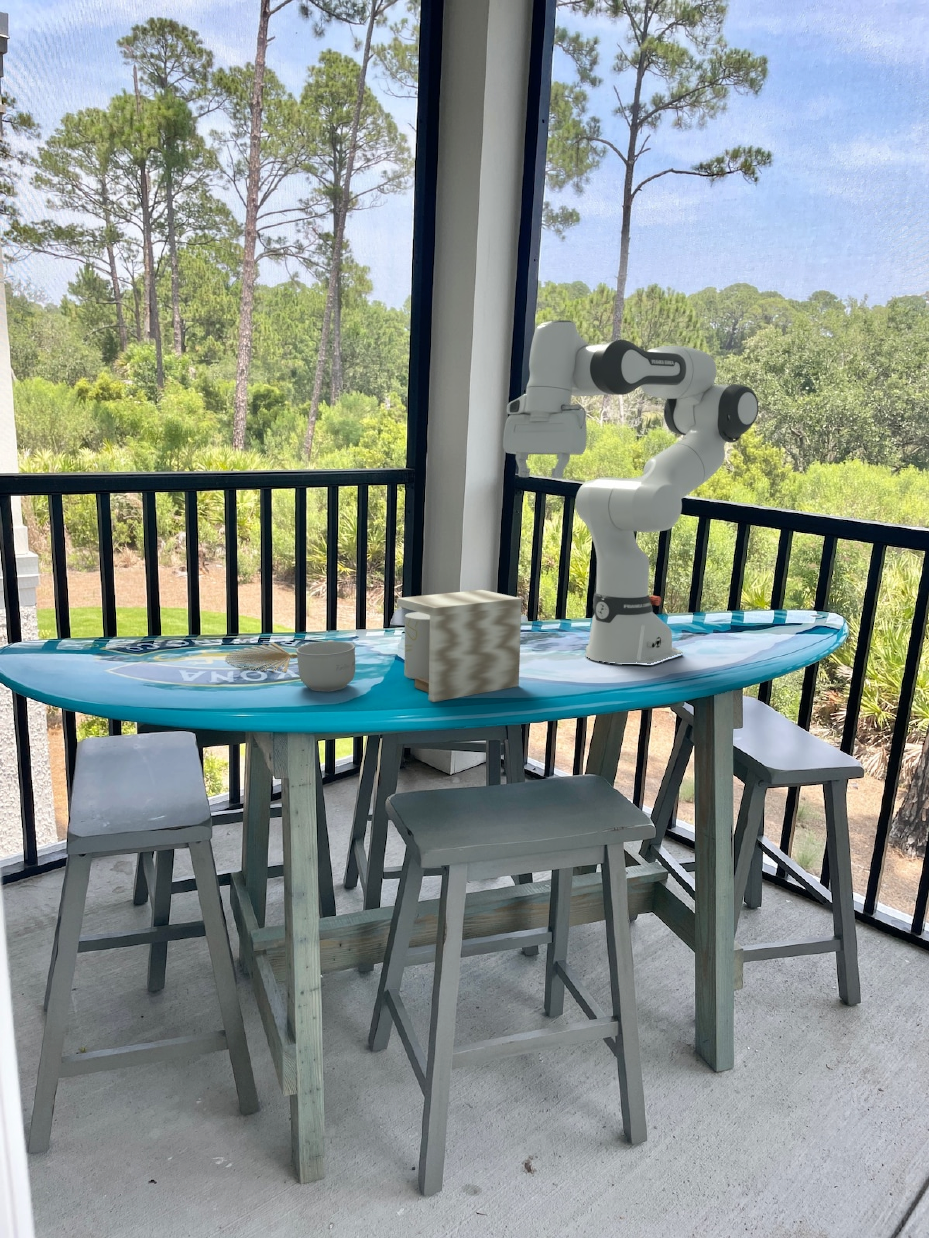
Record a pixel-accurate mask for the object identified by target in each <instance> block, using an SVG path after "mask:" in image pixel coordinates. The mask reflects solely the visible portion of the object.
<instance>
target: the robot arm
mask: <svg viewBox="0 0 929 1238" xmlns="http://www.w3.org/2000/svg"><path fill="white" fill-rule="evenodd" d="M531 341H532V342H531V346H530V353H529V361H528V362H529V363H528V370H529V378H528V379H529V380H528V382H527V384H526V390H525V391H526V392H525V393H524V394H522V395H521V396H519V397H518V398H516V399H514V400H512V401H510V402H509V403H508V404H507V405H506V414H507V415H508V417H507V418H506V420H505V423H504V430H503V441H502V447H503V450H504V452H505V453H507V454H511V455H512V454H513V455H515V461H516V464H517V466H518V473H517V475H518V477H519V478H529V477H530V473H531V468H528V464H527V461H528V460H529V455H555V456H556V460H557V462H556V464H555V467H554V468H553V467H552V468H551V474H550V477H551V478H552V479H561V480H562V478H564V470H565V469H566V467H567V465H568V463H569V462H570V459H571V456H573V455H574V456H575V455H576V456H582V455H583V454H584V452H585V451H586V450H587V438H588V437H587V432H588V429H587V420H586V417H587V411H586V410H585V407H583V406H582V405H581V404H578V403H577V404H571V403H572V396H574V397H592V396H606V395H613V396H614V395H615V396H616V395H618V396H623V395H628V394H630V393H632V392H634V391H636V389H638V388H640V389H641V390H642V392H643V393H644V394H646V395H647V396H650V397H652V398H658V399H666V400H665V403H664V408H663V419H664V423H665V424H666V426H667V428H668V429H669V430H670V432H673V433H674V434H677V435H679V436H683V438H681V440H679V441H677V442H675V443H673V444H672V445H670V446H669V447H667V448H665V449H663V450H662V451H660V452H658V453H657V454H655V455H654V456H653V457H651V458H649V459H648V460H647V461H646V463H645V465H644V466H643V470H642V475H640V476H636V477H627V478H626V477H612V476H611V477H610V476H604V477H603V476H602V477H598V478H594V479H590V480H587V481H585V482H583V484H582V485H580V487H579V489H578V491H577V492H576V496H575V509H576V513H577V515H578V517H579V518H580V520H582V522H583V523H584V524H585V526H586V527H587V529H588V530H589V534H590V536H591V539H592V542H593V545H594V549H595V555H596V588H595V590H596V591H595V592H594V594H593V599H592V601H593V604H592V609H593V610H594V614H593V616H592V619H591V625H590V631H589V638H588V644H587V645H586V646H585V651H586V650H587V651H586V652H585V655H586V656H585V657H586V658H587V657H588V658H587V659H589V658H590V659H589V660H592V661H596V662H599V661H605V662H615V663H636V662H637V663H647V664H651V663H654V662H657V661H661V660H663V659H666V658H668V657H672V656H674V655H677V654H681V653H682V654H683V651H682V650H680V649H678V648H675V647H673V633H672V630H671V628H670V627H669V626H668V625H667V624H666V623H665V622H664V621H663V620H662V619H661V618H660V617H658V616H657V615H656V614H655V613H654V612H653V610H654V608H653V605H654V606H660V605H661V602H662V598H661V597H660V596H657V595H653V594H652V595H651V596H650V595H649V579H650V566H651V565H650V560H649V556H648V555H647V554H646V553H645V552H644V551H643V550H642V549H641V548H640V546H639V545H638V542H637V539H636V536H635V533H634V532H638V533H645V534H647V533H649V534H650V533H657V532H662V531H668V530H670V529H672V528H673V527H674V526H676V523H677V522H678V520H679V518H680V517H681V514H682V509H683V502H682V499H684V498H685V497H686V496H688V495H689V494H690V493H693V491H695V490H696V489H698V488H699V487H701V486H702V485H703V484H704V483H706V482H707V481H708V480H709V479H710V478H712V477H713V476H714V474H715V473H717V471H718V470H719V469H720V468H721V467H722V465H723V463H724V461H725V456H726V453H725V452H726V451H725V444H726V443H729V444H733V443H734V444H735V443H736V442H737V441H739V440H740V439H741V436H742V435H743V434H745V433H746V432H748V431H749V430H750V428H752V426H753V425H754V423H755V421H756V420H757V418H758V414H759V407H760V406H759V401H758V398H757V394H756V393H755V391H754V390H753V389H752V388H751V387H749V386H746V385H741V384H734V383H733V384H730V385H729V384H715V380H716V377H717V365H716V362H715V360H714V358H713V356H711V355H710V354H709V353H707V352H706V351H703V350H701V349H697V348H694V347H689V346H682V345H662V346H657V347H654V348H653V347H652V348H650V349H648V350H644V349H642V348H640V346H637V345H636V344H634V343H633V342H632V341H629V340H626V339H617V340H612V341H608V342H603V343H597V344H596V343H595V344H590V343H588V342H586V340H584V338H582V336H581V335H580V333H579V332H578V330H577V324H576V323H575V322H574V321H572V320H567V319H558V320H549V321H544V322H542V323H540V324H538V325H537V327H536V328H535V331H534V334H533V336H532V340H531Z"/></svg>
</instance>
